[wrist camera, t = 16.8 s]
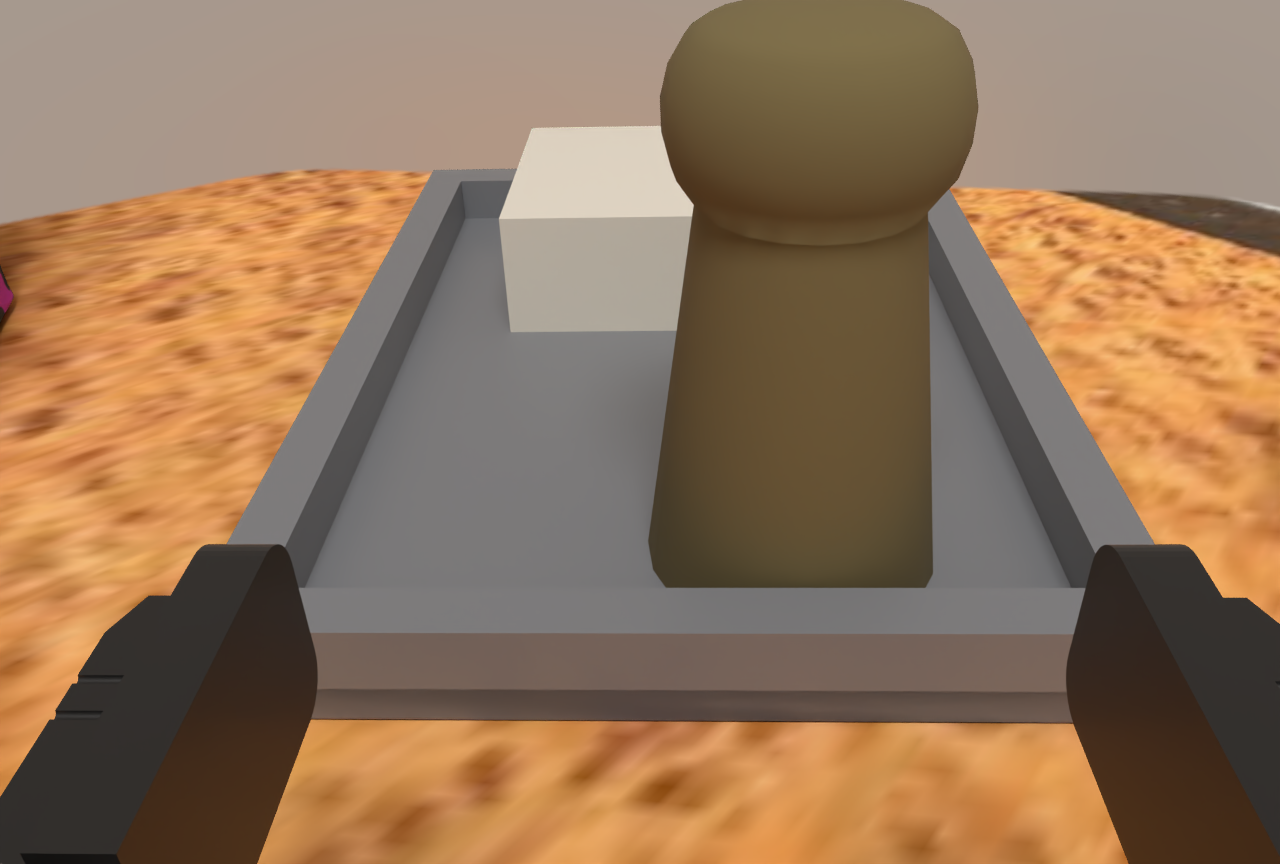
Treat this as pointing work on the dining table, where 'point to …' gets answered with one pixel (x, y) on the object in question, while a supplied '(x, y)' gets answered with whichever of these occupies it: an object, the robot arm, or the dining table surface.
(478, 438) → the grey serving tray
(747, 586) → the cork
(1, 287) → the candy bar box
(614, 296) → the plain cream box
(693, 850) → the dining table surface
